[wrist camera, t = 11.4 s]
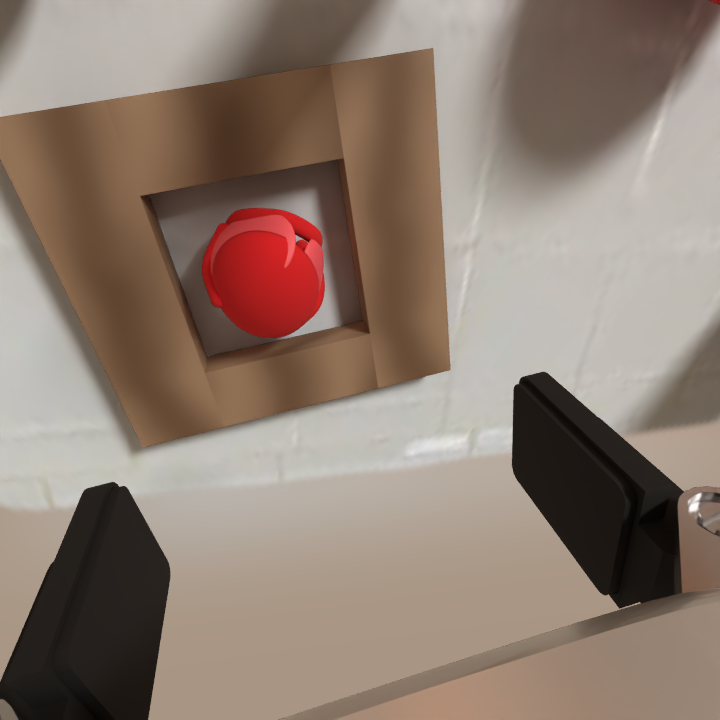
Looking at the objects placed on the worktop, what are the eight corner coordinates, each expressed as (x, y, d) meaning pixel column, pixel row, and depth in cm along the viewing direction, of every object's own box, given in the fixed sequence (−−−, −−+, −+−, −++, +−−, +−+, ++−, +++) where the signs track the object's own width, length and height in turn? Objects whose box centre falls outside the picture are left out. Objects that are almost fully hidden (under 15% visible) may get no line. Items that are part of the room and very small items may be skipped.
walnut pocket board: (419, 52, 24) (432, 48, 22) (439, 356, 33) (450, 369, 31) (1, 119, 21) (-19, 120, 19) (148, 428, 30) (142, 447, 28)
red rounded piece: (196, 177, 21) (166, 304, 21) (325, 200, 21) (299, 328, 20) (242, 243, 29) (221, 336, 28) (336, 259, 29) (317, 353, 28)
